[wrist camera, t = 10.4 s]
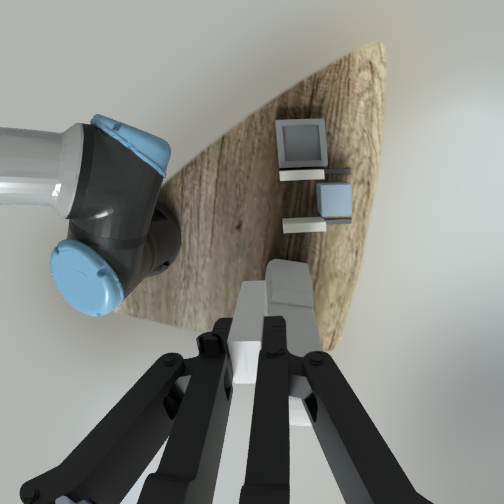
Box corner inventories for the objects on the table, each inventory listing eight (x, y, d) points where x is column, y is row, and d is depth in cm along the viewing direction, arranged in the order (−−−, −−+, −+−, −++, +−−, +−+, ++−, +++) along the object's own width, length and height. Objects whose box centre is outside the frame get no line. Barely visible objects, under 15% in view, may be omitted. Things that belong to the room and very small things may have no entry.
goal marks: (324, 224, 49) (324, 224, 49) (322, 169, 46) (322, 169, 46) (350, 223, 49) (351, 223, 48) (349, 168, 45) (350, 168, 45)
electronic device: (295, 317, 56) (306, 443, 27) (259, 312, 56) (244, 438, 27) (308, 261, 52) (340, 374, 23) (268, 255, 52) (260, 367, 23)
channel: (282, 226, 50) (283, 233, 46) (279, 170, 47) (279, 171, 42) (321, 224, 49) (326, 231, 45) (319, 168, 46) (323, 169, 42)
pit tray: (278, 167, 47) (279, 168, 44) (275, 122, 44) (275, 120, 41) (324, 165, 46) (327, 166, 43) (321, 120, 43) (324, 118, 41)
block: (317, 210, 49) (321, 216, 44) (316, 182, 47) (320, 185, 42) (344, 209, 48) (351, 215, 43) (343, 181, 46) (350, 184, 42)
